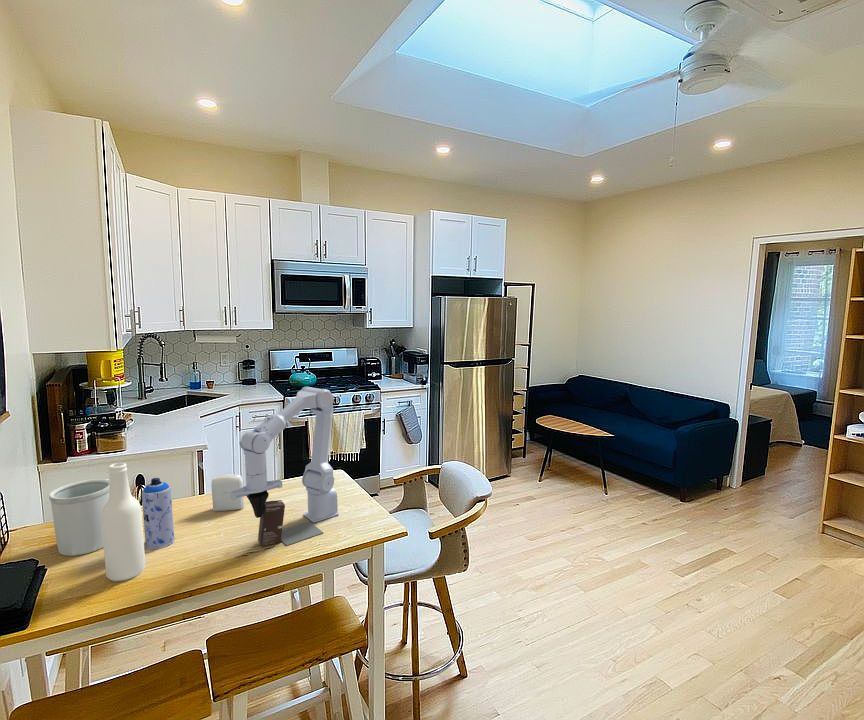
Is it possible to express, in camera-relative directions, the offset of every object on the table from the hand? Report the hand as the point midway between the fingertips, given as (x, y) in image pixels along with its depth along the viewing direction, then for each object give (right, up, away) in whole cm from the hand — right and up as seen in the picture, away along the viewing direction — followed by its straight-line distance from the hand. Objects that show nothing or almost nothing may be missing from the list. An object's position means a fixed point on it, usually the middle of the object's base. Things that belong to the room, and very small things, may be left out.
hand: (258, 516), depth 137 cm
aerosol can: (-31, -9, +3) cm, 32 cm away
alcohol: (-31, -11, -13) cm, 35 cm away
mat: (+9, -8, +9) cm, 15 cm away
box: (+2, -9, +3) cm, 10 cm away
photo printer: (-20, -6, +26) cm, 33 cm away
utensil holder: (-52, -9, +2) cm, 53 cm away
